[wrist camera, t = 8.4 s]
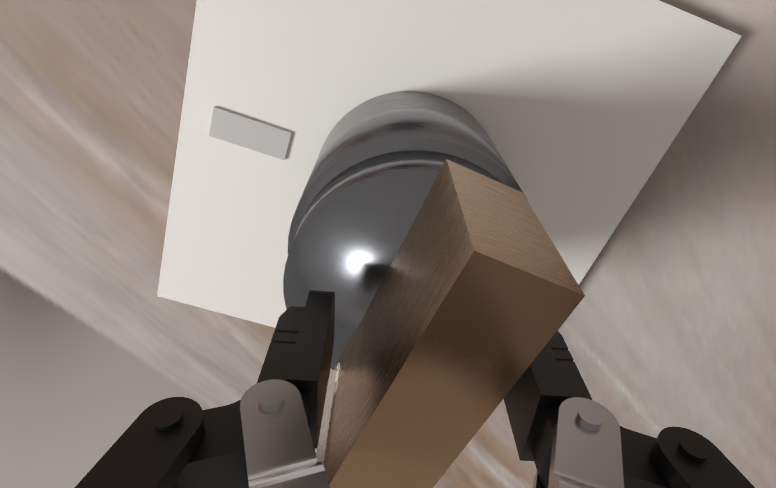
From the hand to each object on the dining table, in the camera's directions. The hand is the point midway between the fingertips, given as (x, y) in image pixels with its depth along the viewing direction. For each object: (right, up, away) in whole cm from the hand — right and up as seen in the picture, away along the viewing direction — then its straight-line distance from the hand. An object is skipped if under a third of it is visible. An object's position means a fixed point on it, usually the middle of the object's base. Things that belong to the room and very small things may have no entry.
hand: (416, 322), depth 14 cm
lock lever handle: (0, +2, +3) cm, 3 cm away
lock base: (0, +6, +11) cm, 12 cm away
